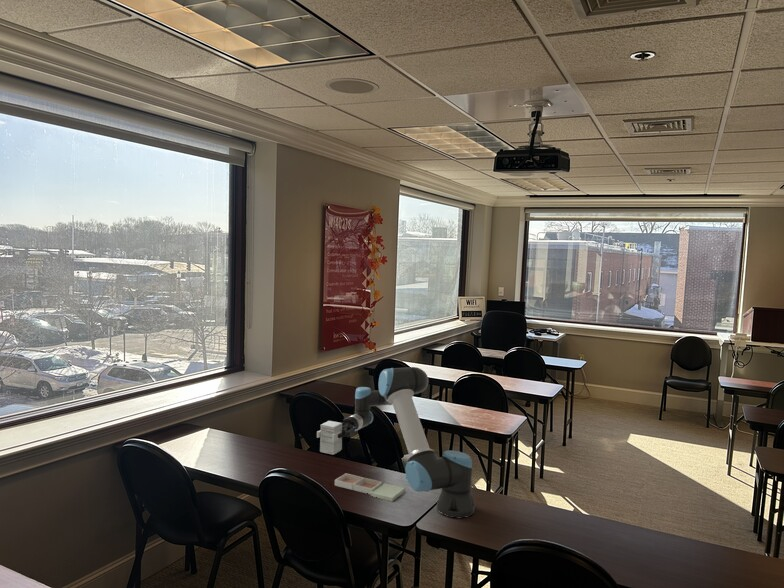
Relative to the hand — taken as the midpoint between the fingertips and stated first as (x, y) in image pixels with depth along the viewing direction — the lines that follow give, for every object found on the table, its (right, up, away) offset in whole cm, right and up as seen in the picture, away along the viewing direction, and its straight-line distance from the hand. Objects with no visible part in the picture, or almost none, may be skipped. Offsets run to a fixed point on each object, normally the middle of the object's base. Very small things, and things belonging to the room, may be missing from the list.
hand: (325, 436), depth 244 cm
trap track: (+19, -22, -4) cm, 29 cm away
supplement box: (+2, -8, +5) cm, 10 cm away
